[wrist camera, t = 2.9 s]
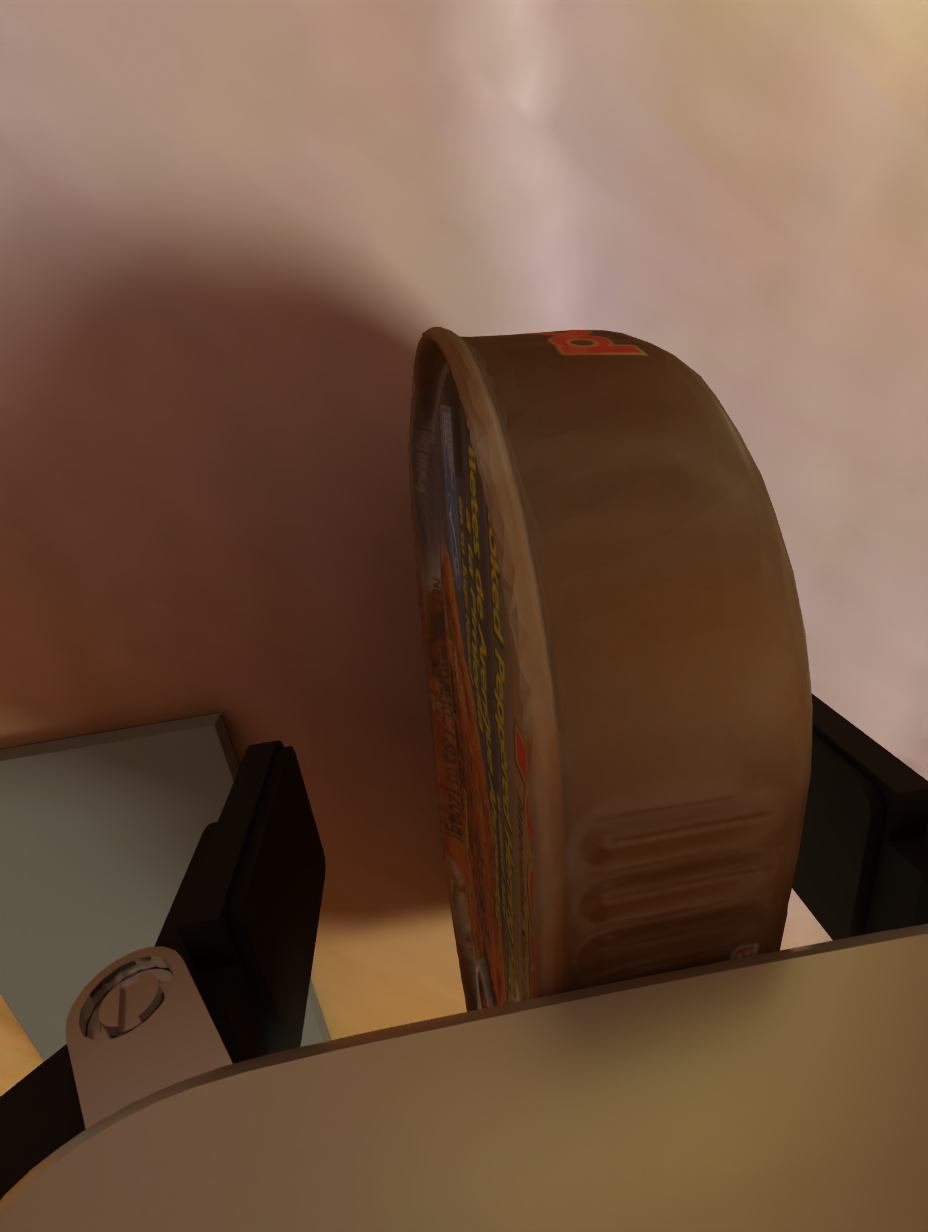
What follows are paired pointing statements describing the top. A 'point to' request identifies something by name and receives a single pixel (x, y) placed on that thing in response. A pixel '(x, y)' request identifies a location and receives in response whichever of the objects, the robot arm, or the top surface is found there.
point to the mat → (101, 857)
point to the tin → (602, 663)
